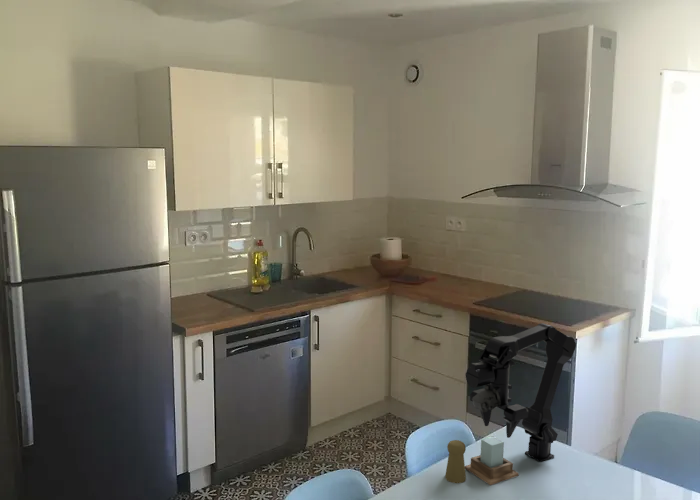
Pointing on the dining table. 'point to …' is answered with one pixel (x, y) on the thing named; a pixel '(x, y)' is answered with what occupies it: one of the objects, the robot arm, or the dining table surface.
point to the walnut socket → (491, 471)
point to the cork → (456, 462)
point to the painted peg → (492, 451)
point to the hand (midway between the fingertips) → (497, 431)
